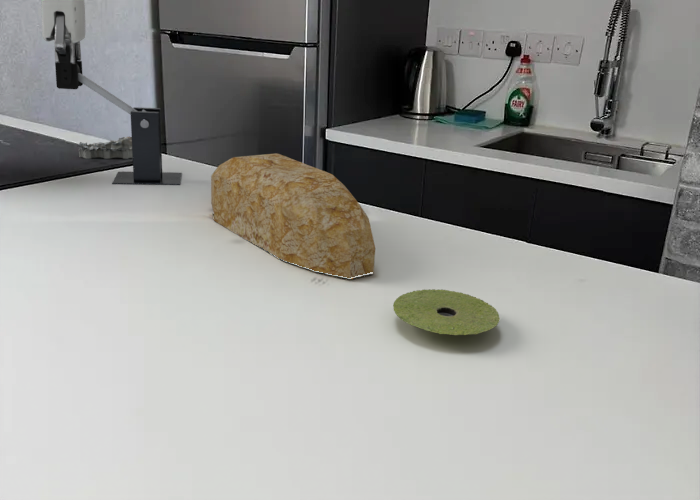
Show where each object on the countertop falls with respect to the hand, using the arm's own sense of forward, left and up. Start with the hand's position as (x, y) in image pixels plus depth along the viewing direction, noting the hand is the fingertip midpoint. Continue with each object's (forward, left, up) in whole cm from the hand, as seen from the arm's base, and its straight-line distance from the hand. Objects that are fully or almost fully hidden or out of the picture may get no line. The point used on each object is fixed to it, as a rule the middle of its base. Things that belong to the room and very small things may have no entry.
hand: (70, 85), depth 110 cm
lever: (+5, 0, -3) cm, 6 cm away
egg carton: (+3, +18, -16) cm, 25 cm away
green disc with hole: (+47, -57, -17) cm, 75 cm away
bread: (+32, -27, -16) cm, 45 cm away
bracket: (+12, 0, -16) cm, 20 cm away
